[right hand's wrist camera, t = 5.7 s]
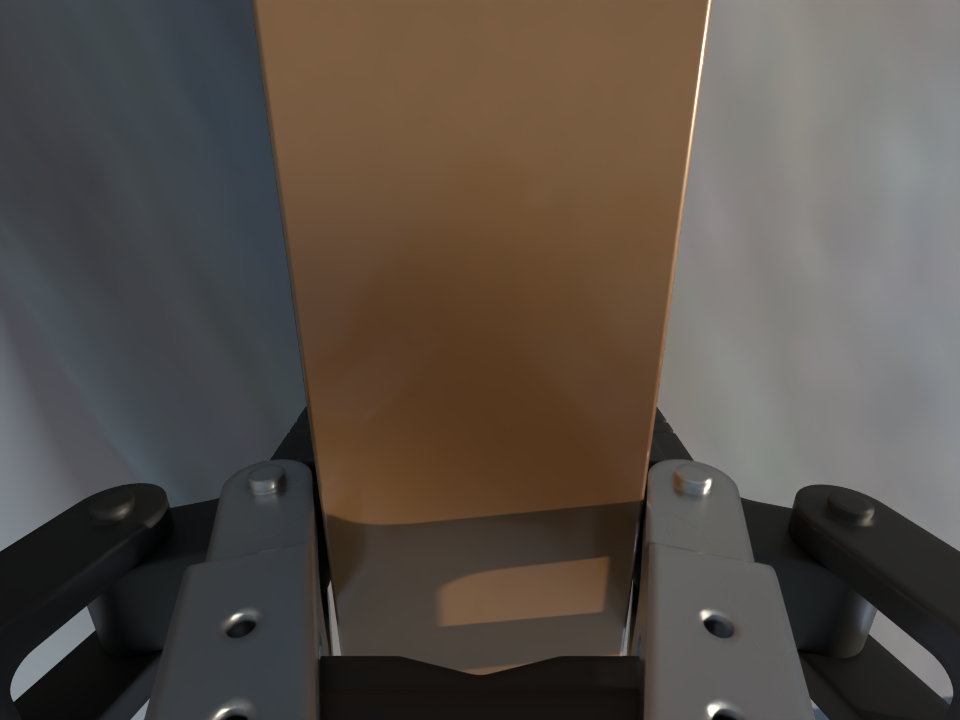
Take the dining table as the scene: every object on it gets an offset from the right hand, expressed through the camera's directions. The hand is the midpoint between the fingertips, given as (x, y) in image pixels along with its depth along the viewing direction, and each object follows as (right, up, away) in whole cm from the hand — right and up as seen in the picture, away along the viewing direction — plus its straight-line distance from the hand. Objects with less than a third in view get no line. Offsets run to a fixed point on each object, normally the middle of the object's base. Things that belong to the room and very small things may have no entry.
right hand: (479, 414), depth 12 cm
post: (0, +24, -6) cm, 25 cm away
